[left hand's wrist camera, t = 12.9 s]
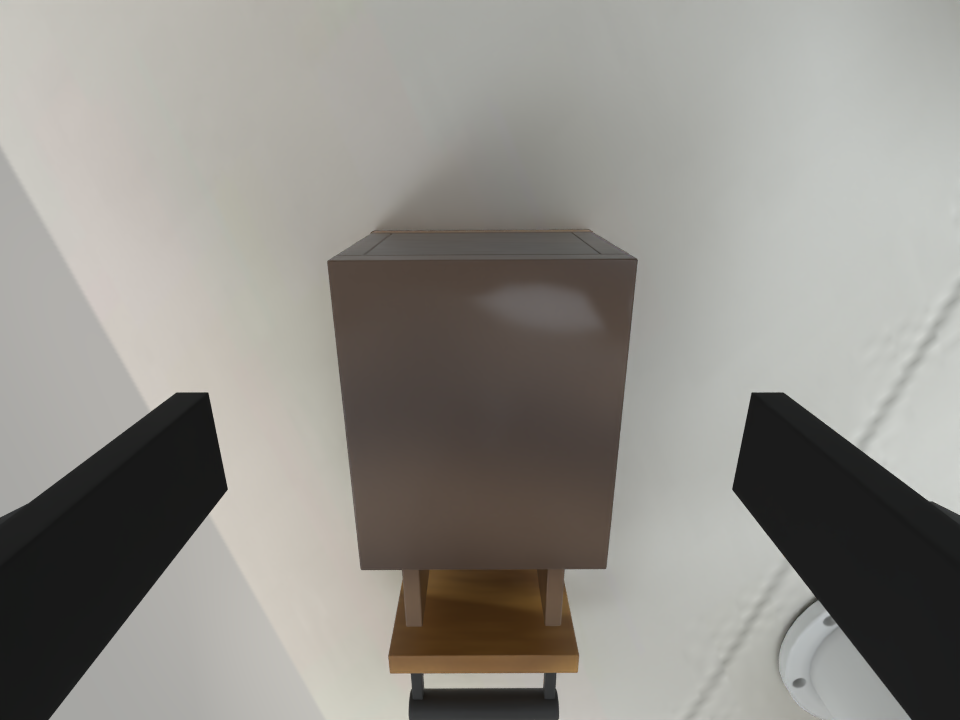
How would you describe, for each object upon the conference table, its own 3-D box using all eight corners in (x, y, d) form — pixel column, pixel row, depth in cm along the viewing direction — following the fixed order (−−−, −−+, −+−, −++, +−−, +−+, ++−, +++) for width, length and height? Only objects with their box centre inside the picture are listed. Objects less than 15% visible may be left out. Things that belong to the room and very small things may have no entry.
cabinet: (573, 464, 30) (606, 569, 22) (391, 465, 30) (360, 570, 22) (589, 229, 25) (638, 258, 18) (373, 230, 25) (326, 260, 18)
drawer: (555, 651, 34) (570, 755, 28) (411, 652, 34) (397, 755, 28) (570, 400, 27) (595, 465, 22) (394, 401, 27) (370, 466, 22)
